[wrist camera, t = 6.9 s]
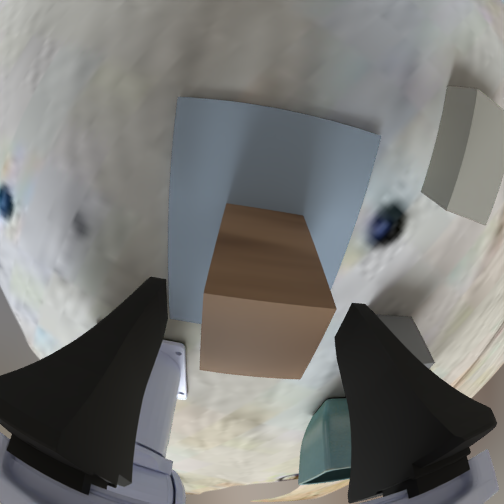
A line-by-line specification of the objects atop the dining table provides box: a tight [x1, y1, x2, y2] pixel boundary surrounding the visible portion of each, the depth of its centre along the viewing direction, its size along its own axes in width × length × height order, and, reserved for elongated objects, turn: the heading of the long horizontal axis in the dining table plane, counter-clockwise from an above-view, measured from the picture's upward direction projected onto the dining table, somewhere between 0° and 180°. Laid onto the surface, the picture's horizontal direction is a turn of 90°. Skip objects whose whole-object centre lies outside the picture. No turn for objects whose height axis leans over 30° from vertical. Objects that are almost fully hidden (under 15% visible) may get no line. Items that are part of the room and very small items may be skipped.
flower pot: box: [298, 398, 351, 485], centre depth 23 cm, size 9×9×9 cm
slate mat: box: [168, 97, 381, 324], centre depth 15 cm, size 14×10×1 cm
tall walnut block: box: [200, 203, 336, 379], centre depth 12 cm, size 4×4×7 cm
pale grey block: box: [421, 86, 504, 226], centre depth 11 cm, size 7×4×3 cm, turn 171°
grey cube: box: [377, 315, 435, 369], centre depth 18 cm, size 5×5×5 cm
